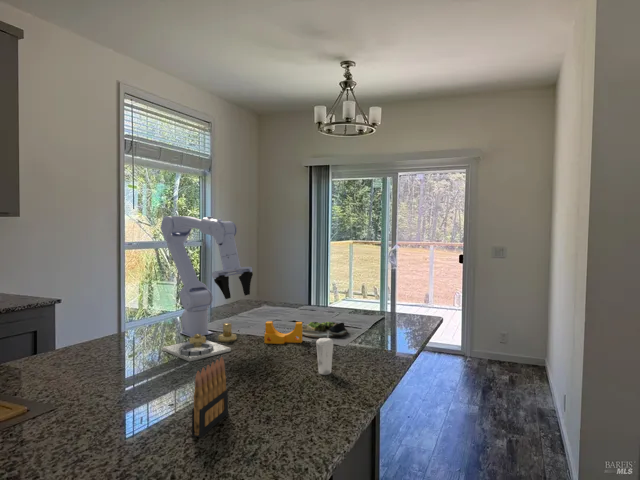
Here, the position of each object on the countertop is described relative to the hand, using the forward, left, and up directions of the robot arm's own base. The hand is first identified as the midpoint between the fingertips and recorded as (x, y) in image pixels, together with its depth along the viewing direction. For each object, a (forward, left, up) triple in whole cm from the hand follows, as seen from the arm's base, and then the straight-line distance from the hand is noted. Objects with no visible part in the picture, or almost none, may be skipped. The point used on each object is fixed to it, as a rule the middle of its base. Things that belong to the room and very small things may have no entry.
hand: (237, 296), depth 141 cm
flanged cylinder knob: (-6, 0, -15) cm, 17 cm away
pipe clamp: (+9, +11, -16) cm, 22 cm away
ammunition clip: (+44, -38, -16) cm, 60 cm away
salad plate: (+11, +30, -16) cm, 36 cm away
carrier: (-2, -14, -15) cm, 21 cm away
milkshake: (+40, -1, -16) cm, 43 cm away
